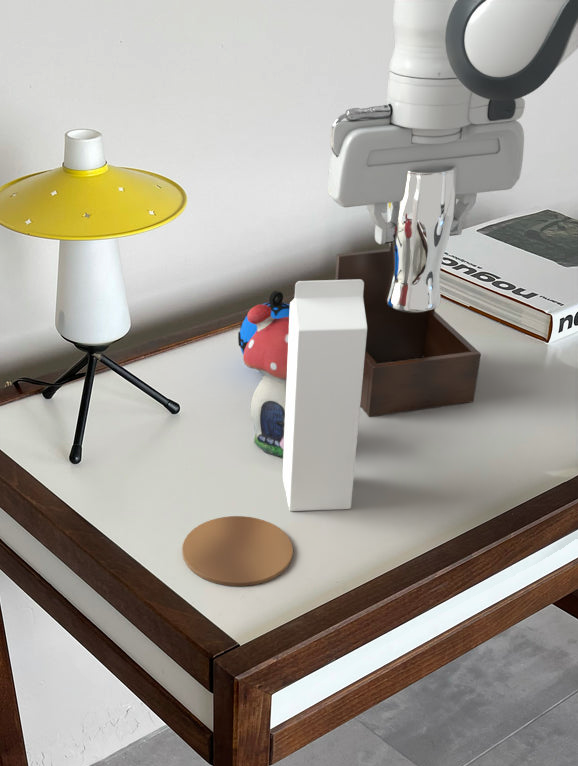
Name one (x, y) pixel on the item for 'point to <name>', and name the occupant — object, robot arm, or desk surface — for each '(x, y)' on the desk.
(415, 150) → the robot arm
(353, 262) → the cubby
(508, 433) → the desk surface
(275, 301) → the ornament
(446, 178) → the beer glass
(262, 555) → the coaster
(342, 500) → the milk
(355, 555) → the desk surface
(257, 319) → the decorative ornament
